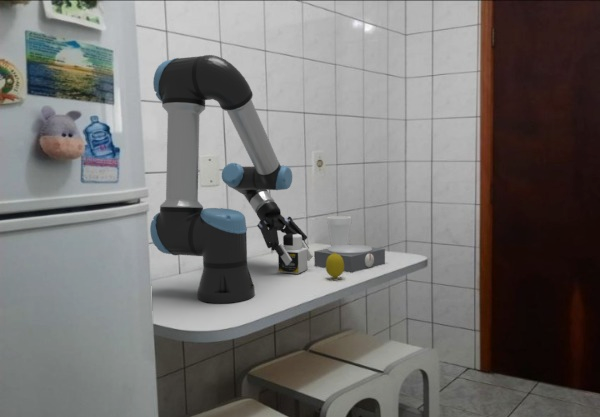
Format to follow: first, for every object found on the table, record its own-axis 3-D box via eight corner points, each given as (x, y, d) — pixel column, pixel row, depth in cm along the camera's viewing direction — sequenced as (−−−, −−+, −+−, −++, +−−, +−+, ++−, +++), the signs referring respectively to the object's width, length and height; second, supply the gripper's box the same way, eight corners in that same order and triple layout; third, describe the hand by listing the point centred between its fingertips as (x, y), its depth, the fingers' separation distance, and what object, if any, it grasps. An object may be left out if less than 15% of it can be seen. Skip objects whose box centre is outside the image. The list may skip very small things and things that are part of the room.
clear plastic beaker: (352, 248, 214) (352, 216, 212) (350, 252, 205) (350, 218, 203) (329, 248, 215) (328, 216, 214) (326, 252, 206) (325, 218, 205)
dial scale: (352, 272, 169) (352, 255, 169) (314, 265, 181) (314, 249, 181) (386, 263, 182) (386, 247, 181) (348, 257, 194) (348, 242, 193)
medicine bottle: (278, 272, 171) (277, 235, 170) (288, 268, 177) (287, 232, 176) (298, 274, 168) (297, 236, 167) (307, 269, 174) (307, 233, 173)
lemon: (343, 281, 158) (342, 254, 157) (324, 280, 159) (324, 254, 158) (345, 276, 163) (345, 251, 163) (327, 276, 165) (327, 250, 164)
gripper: (283, 212, 189) (317, 262, 180) (235, 218, 174) (269, 273, 164) (294, 198, 185) (328, 248, 175) (245, 202, 170) (280, 258, 160)
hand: (300, 260), depth 170 cm, fingers closed on medicine bottle, 9 cm apart
